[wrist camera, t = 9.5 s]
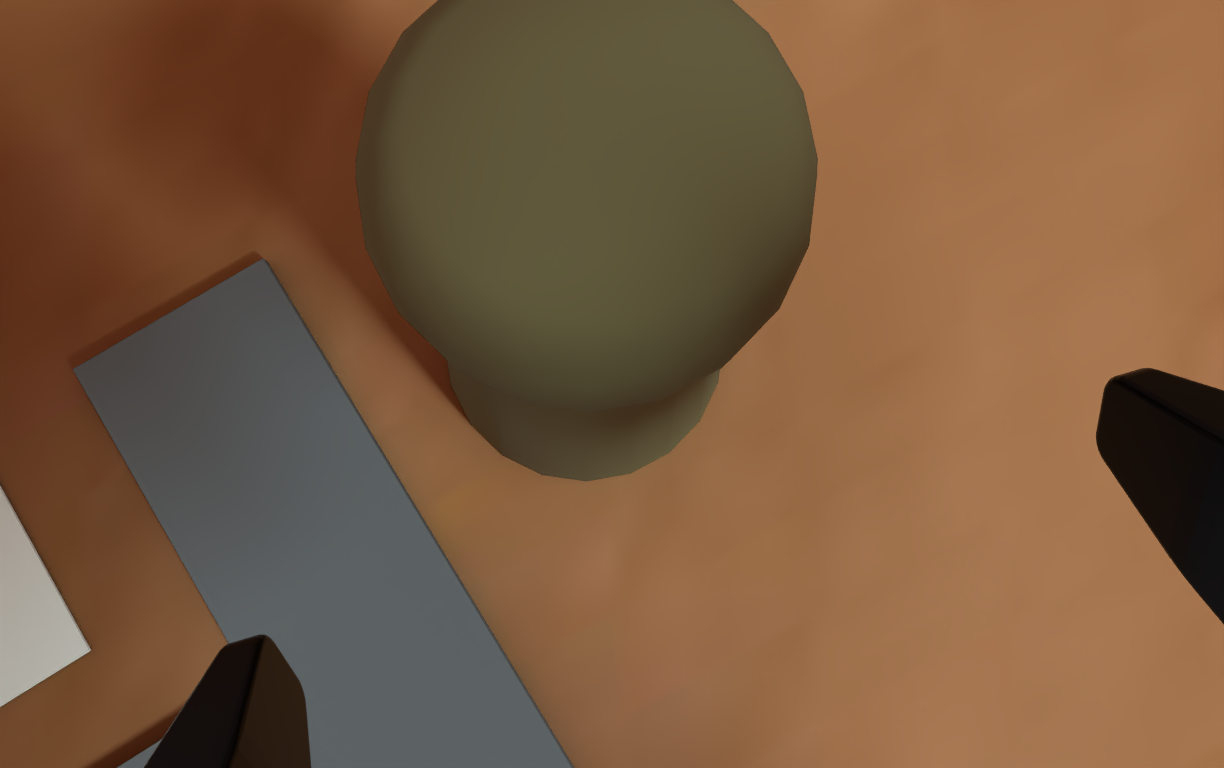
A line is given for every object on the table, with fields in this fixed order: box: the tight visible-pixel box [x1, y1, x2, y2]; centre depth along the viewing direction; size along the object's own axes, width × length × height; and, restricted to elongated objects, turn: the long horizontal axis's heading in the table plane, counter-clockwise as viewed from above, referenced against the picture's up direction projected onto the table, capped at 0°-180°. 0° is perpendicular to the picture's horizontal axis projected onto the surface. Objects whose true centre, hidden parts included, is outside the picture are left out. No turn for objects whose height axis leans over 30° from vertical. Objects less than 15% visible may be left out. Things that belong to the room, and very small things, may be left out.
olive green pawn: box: [356, 0, 818, 481], centre depth 14 cm, size 6×6×11 cm
